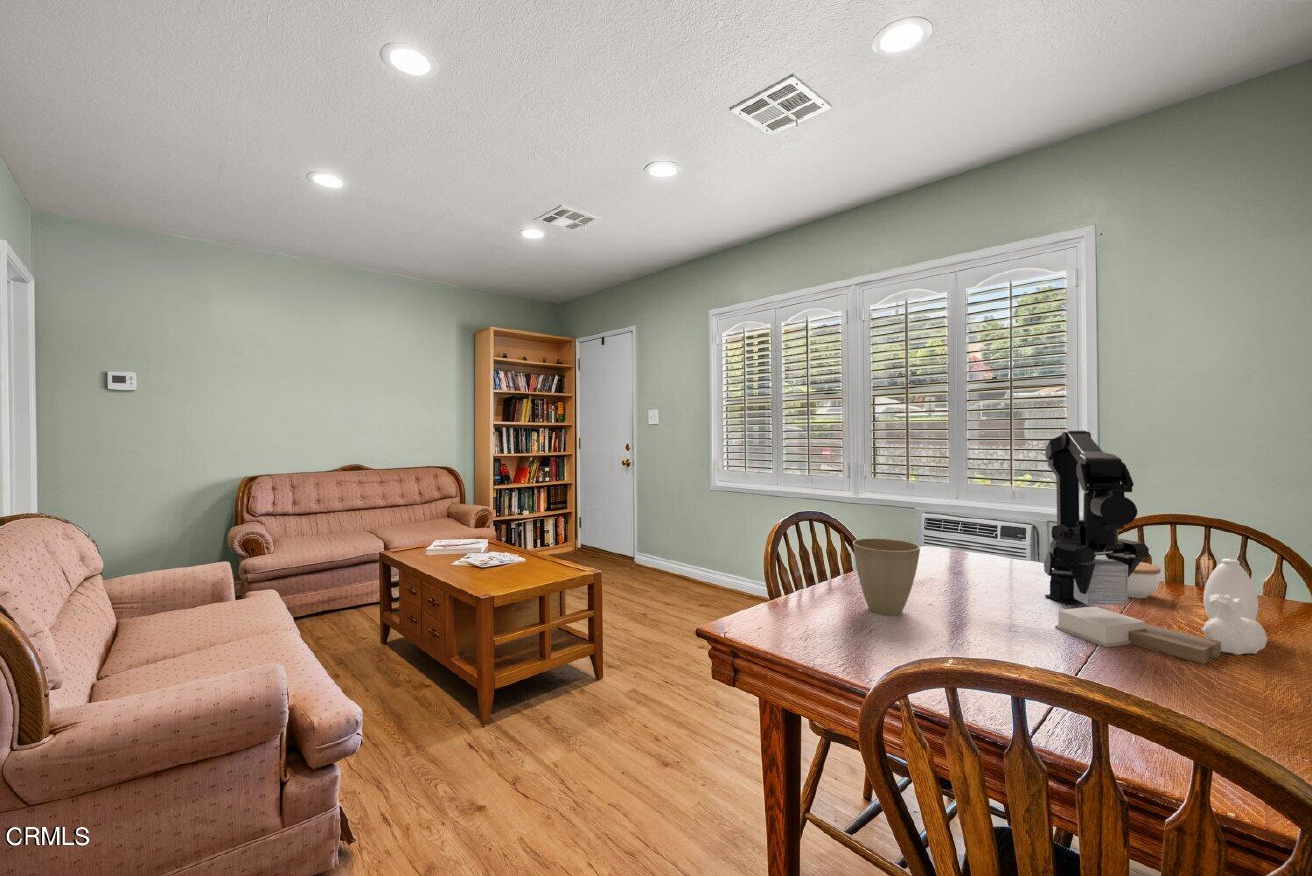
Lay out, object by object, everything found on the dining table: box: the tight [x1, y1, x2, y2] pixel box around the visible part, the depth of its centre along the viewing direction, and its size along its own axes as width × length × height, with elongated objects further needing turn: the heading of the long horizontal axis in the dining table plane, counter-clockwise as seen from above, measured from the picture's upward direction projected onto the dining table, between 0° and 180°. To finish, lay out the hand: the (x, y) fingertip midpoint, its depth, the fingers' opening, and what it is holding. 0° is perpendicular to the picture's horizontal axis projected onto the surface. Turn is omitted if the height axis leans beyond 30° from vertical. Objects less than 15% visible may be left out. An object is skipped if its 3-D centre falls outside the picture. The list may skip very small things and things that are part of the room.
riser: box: [1054, 605, 1145, 648], centre depth 116 cm, size 11×11×4 cm
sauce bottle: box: [1202, 547, 1259, 621], centre depth 116 cm, size 8×8×18 cm
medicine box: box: [1074, 558, 1128, 606], centre depth 116 cm, size 8×4×9 cm, turn 85°
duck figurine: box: [1201, 594, 1268, 656], centre depth 109 cm, size 12×8×11 cm
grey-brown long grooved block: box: [1128, 622, 1222, 665], centre depth 109 cm, size 8×12×2 cm, turn 29°
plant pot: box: [852, 537, 921, 616], centre depth 133 cm, size 15×15×16 cm
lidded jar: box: [1127, 562, 1161, 599], centre depth 143 cm, size 11×11×9 cm
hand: (1100, 591), depth 116 cm, fingers closed on medicine box, 9 cm apart
